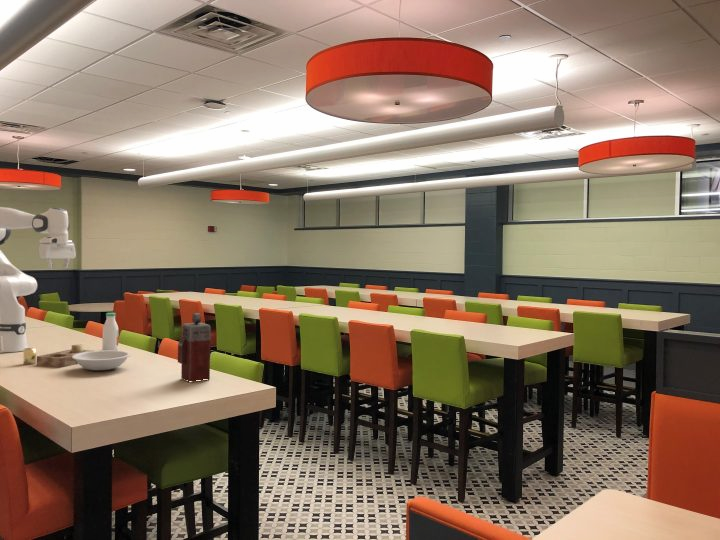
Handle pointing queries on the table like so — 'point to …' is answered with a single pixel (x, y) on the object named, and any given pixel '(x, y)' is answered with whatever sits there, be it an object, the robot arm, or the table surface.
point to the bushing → (29, 356)
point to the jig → (61, 357)
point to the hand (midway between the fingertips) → (58, 267)
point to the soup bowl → (101, 359)
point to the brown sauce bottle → (195, 350)
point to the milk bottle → (110, 333)
